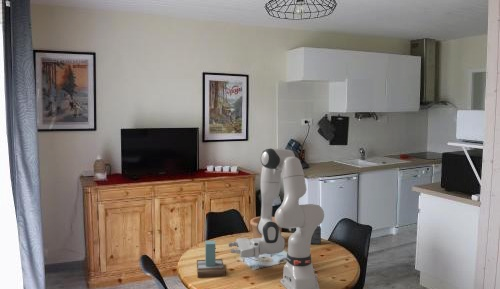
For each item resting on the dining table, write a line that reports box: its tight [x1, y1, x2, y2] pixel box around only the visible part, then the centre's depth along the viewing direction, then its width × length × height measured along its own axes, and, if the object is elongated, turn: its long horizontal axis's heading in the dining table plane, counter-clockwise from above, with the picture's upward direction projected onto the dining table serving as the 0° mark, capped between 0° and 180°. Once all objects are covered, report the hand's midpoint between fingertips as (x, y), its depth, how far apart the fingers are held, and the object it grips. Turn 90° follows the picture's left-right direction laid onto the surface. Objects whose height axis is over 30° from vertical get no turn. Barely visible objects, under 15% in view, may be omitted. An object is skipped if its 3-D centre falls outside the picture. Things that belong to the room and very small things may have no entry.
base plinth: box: [196, 258, 226, 278], centre depth 216 cm, size 16×14×3 cm
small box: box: [311, 225, 322, 245], centre depth 261 cm, size 11×6×10 cm, turn 84°
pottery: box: [249, 216, 283, 238], centre depth 261 cm, size 22×22×14 cm
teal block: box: [204, 240, 216, 266], centre depth 215 cm, size 5×5×12 cm
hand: (229, 247), depth 217 cm, fingers open, 8 cm apart
